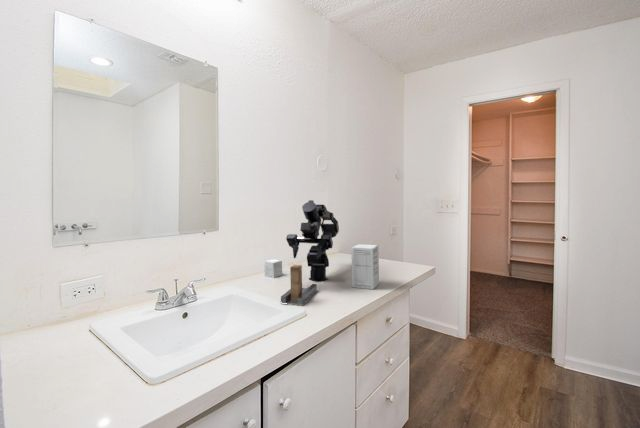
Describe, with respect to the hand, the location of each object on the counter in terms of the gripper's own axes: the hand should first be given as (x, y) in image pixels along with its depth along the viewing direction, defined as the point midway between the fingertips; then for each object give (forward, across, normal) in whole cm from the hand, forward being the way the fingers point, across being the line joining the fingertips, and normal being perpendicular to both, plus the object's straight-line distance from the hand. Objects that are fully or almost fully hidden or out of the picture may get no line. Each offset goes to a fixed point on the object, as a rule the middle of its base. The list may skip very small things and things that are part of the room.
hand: (305, 258), depth 124 cm
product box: (-4, -23, +24) cm, 33 cm away
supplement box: (0, +22, +19) cm, 29 cm away
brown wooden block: (+17, 0, +2) cm, 17 cm away
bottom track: (+14, 0, +5) cm, 15 cm away
